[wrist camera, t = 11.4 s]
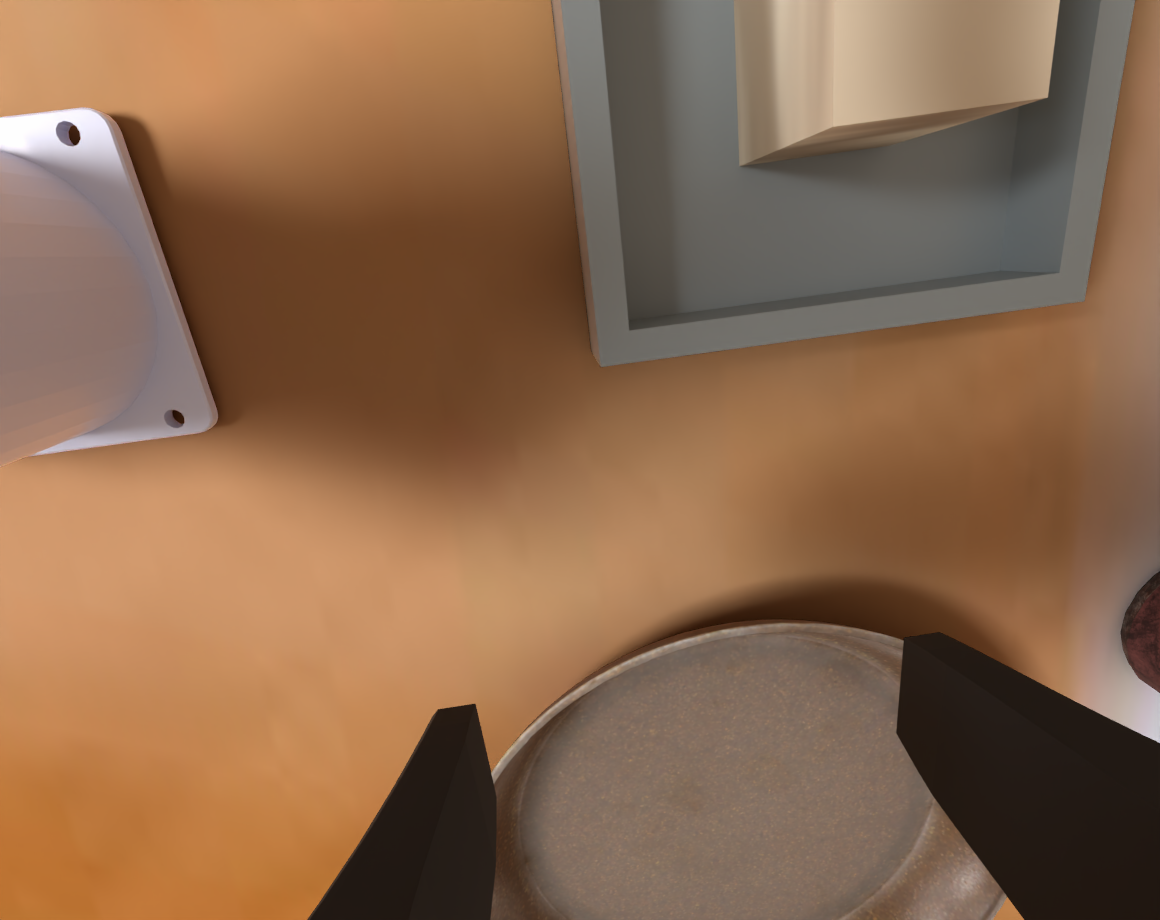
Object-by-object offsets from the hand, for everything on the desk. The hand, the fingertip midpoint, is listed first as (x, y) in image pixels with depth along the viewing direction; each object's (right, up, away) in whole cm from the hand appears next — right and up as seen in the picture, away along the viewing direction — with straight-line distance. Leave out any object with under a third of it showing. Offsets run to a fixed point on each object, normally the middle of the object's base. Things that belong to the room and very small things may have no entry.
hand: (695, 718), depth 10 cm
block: (+4, +14, +5) cm, 15 cm away
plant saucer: (+4, -9, +14) cm, 17 cm away
